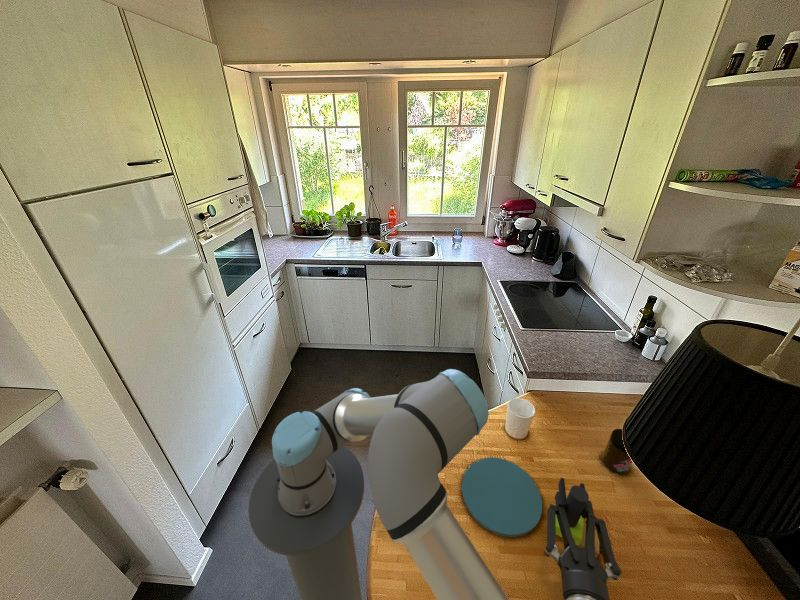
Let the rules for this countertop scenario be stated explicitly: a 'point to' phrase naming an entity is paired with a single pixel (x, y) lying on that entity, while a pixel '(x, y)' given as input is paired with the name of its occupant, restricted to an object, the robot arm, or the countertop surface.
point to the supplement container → (616, 453)
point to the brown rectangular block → (582, 543)
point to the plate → (501, 497)
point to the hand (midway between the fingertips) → (571, 484)
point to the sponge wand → (575, 512)
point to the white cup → (519, 417)
